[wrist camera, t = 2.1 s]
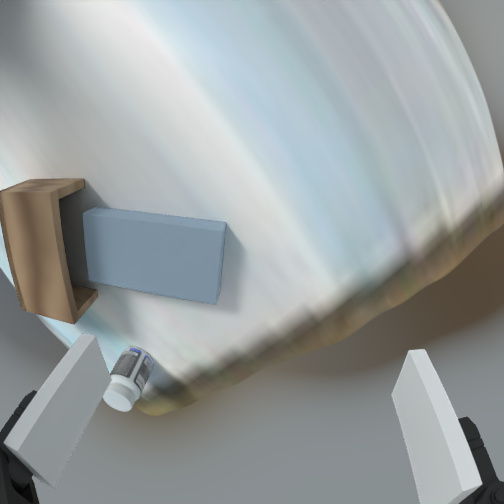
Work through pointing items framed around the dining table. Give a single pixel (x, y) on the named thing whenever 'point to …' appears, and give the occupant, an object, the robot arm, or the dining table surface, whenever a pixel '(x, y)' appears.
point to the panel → (155, 253)
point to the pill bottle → (128, 378)
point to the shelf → (41, 249)
